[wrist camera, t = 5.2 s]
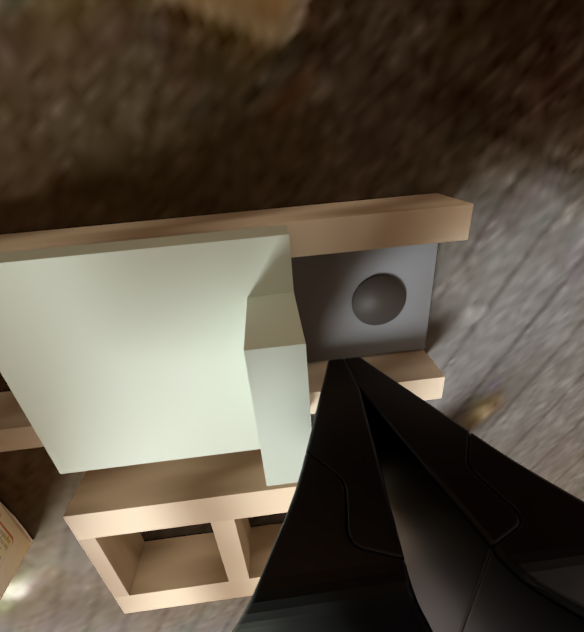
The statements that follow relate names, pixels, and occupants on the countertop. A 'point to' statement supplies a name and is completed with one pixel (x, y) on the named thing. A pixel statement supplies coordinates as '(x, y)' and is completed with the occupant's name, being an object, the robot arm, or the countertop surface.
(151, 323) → the lid
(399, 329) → the housing
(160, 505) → the socket board
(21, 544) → the coffeecake box
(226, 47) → the countertop surface
